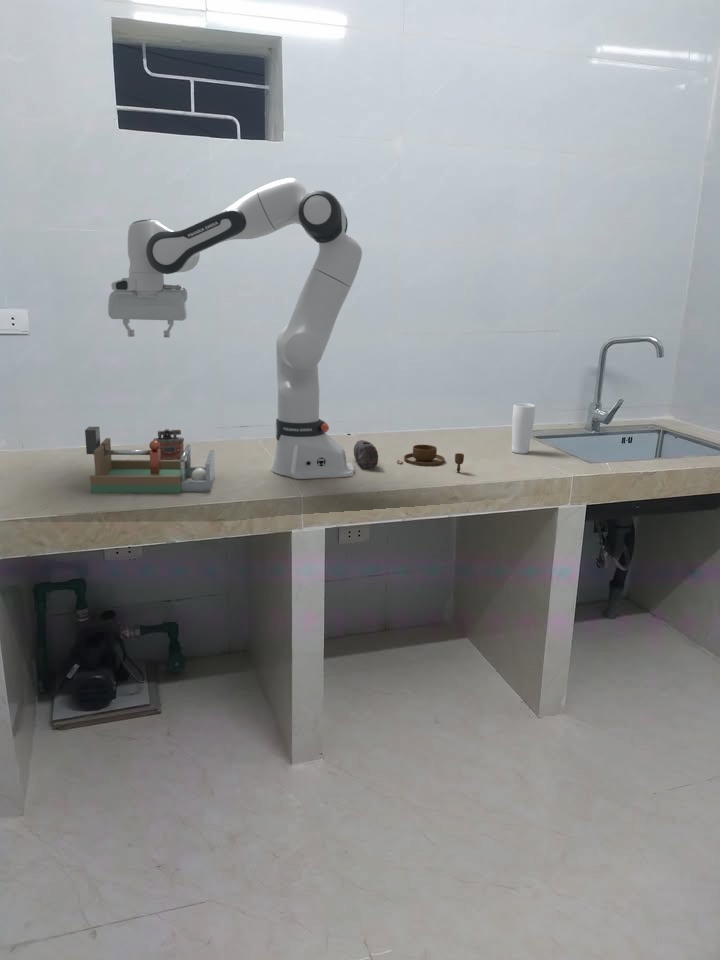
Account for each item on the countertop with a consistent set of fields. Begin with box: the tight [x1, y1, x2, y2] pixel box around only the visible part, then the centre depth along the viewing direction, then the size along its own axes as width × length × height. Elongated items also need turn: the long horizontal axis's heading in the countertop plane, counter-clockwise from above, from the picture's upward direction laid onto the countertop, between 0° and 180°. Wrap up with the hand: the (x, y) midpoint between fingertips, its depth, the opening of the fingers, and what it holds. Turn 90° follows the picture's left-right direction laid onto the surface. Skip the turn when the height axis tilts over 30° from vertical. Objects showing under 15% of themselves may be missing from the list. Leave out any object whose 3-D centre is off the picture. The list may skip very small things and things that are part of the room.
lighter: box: [152, 428, 185, 460], centre depth 203 cm, size 8×3×10 cm, turn 105°
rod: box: [84, 426, 161, 474], centre depth 184 cm, size 17×4×11 cm, turn 96°
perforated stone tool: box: [353, 439, 379, 469], centre depth 212 cm, size 15×5×7 cm, turn 13°
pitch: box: [89, 437, 188, 494], centre depth 185 cm, size 21×16×10 cm
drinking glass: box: [511, 402, 536, 455], centre depth 231 cm, size 7×7×15 cm
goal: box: [180, 443, 216, 493], centre depth 187 cm, size 7×14×8 cm, turn 6°
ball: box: [190, 468, 206, 481], centre depth 188 cm, size 4×4×4 cm
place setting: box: [396, 444, 465, 474], centre depth 214 cm, size 18×20×6 cm
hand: (149, 336), depth 201 cm, fingers open, 8 cm apart
